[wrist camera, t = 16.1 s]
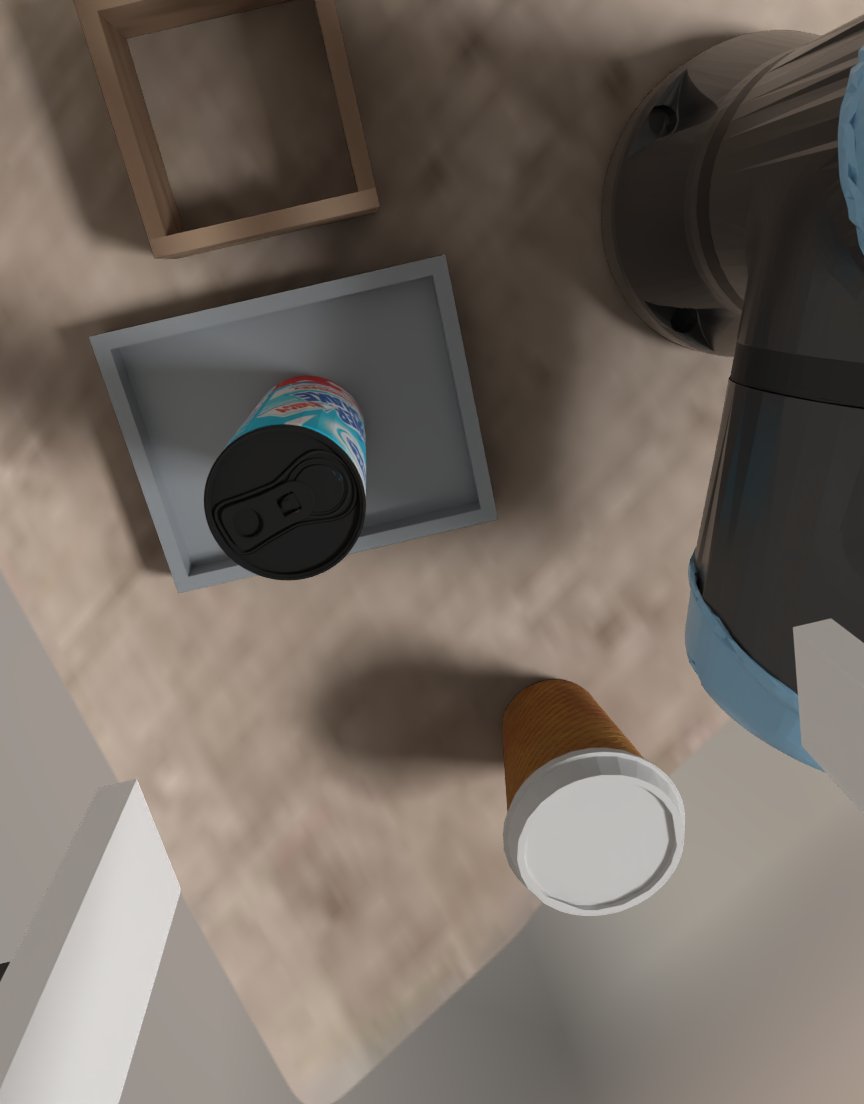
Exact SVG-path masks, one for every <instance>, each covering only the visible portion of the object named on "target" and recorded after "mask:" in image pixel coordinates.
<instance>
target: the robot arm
mask: <svg viewBox="0 0 864 1104" xmlns="http://www.w3.org/2000/svg"><path fill="white" fill-rule="evenodd" d="M601 217H602V234H603V242H604V247H605V252H606V256H607V260H608V263H609V266H610V269H611V272H612V275H613V277H614V279H615V282H616V284H617V286H618V288H619V290H620V291H621V293H622V295H623V296H624V298H625V300H626V301H627V302H628V304H629V305H630V307H631V308H632V309H633V310H634V311H635V313H636V314H637V315H638V316H639V317H640V318H641V319H642V320H643V321H644V322H645V323H646V324H647V325H648V326H650V327H651V328H652V329H653V330H655V331H656V332H658V333H659V334H660V335H662V336H664V337H665V338H667V339H669V340H671V341H673V342H675V343H677V344H679V345H682V346H684V347H687V348H690V349H694V350H697V351H701V352H705V353H709V354H714V355H719V356H726V357H734V360H733V365H732V371H731V375H730V377H729V380H728V386H727V391H726V397H725V402H724V408H723V413H722V419H721V424H720V430H719V435H718V440H717V446H716V451H715V457H714V462H713V467H712V472H711V477H710V482H709V487H708V492H707V497H706V502H705V507H704V512H703V517H702V522H701V527H700V532H699V536H698V541H697V546H696V548H695V550H694V553H693V555H692V557H691V559H690V563H689V569H688V576H689V584H690V587H691V591H690V598H689V606H688V613H687V621H686V628H685V645H686V652H687V655H688V659H689V662H690V664H691V665H692V667H693V669H694V670H695V672H696V673H697V675H698V676H699V679H700V681H701V684H702V686H703V688H704V689H705V690H706V692H707V693H708V694H709V696H710V697H711V698H712V699H713V700H714V701H715V702H716V703H717V704H718V705H719V706H720V708H721V709H722V710H724V711H725V712H726V713H727V714H728V715H729V716H730V717H731V718H732V719H734V720H735V721H736V722H737V723H738V724H740V725H741V726H742V727H744V728H745V729H746V730H748V731H749V732H750V733H752V734H753V735H755V736H756V737H758V738H759V739H761V740H762V741H764V742H766V743H767V744H769V745H770V746H772V747H774V748H776V749H777V750H779V751H781V752H783V753H784V754H786V755H788V756H790V757H792V758H794V759H796V760H798V761H800V762H802V763H804V764H807V765H809V766H811V767H813V768H816V769H818V770H821V771H823V772H825V773H827V774H828V775H829V777H830V778H831V779H832V780H833V781H834V782H835V783H836V784H837V785H838V787H839V788H840V789H841V790H842V791H843V792H844V793H845V794H846V795H847V796H848V798H849V799H850V800H851V801H852V802H853V803H854V804H855V805H856V806H857V807H858V809H859V810H860V811H861V812H862V813H863V814H864V14H863V15H861V16H859V17H857V18H855V19H853V20H852V21H850V22H848V23H846V24H844V25H842V26H840V27H838V28H836V29H834V30H832V31H830V32H828V33H826V34H824V35H822V36H820V35H816V34H811V33H806V32H801V31H792V30H770V31H761V32H756V33H750V34H745V35H742V36H738V37H735V38H732V39H729V40H726V41H724V42H721V43H719V44H717V45H715V46H713V47H711V48H709V49H707V50H705V51H704V52H702V53H700V54H698V55H697V56H695V57H694V58H692V59H690V60H689V61H687V62H686V63H684V64H683V65H681V66H679V67H678V68H677V69H675V70H674V71H673V72H671V73H670V74H669V75H667V76H666V77H665V78H664V79H663V80H662V81H661V82H660V83H658V84H657V85H656V87H655V88H654V89H653V90H652V91H651V92H650V93H649V94H648V95H647V96H646V97H645V99H644V100H643V101H642V102H641V103H640V105H639V106H638V108H637V109H636V110H635V112H634V113H633V115H632V116H631V118H630V119H629V121H628V123H627V124H626V126H625V128H624V130H623V132H622V133H621V136H620V138H619V140H618V142H617V144H616V147H615V149H614V152H613V154H612V157H611V160H610V164H609V167H608V170H607V175H606V179H605V184H604V190H603V198H602V214H601ZM180 892H181V888H180V886H179V883H178V881H177V878H176V876H175V873H174V871H173V868H172V866H171V863H170V861H169V858H168V856H167V853H166V851H165V848H164V846H163V843H162V841H161V838H160V836H159V833H158V831H157V828H156V826H155V823H154V821H153V818H152V816H151V813H150V811H149V808H148V806H147V803H146V801H145V798H144V796H143V793H142V791H141V788H140V786H139V783H138V781H137V779H135V780H131V781H126V782H122V783H118V784H114V785H109V786H105V787H100V788H98V790H97V792H96V794H95V796H94V798H93V800H92V802H91V804H90V806H89V808H88V810H87V812H86V813H85V816H84V817H83V819H82V821H81V823H80V825H79V827H78V829H77V831H76V833H75V835H74V837H73V839H72V841H71V843H70V845H69V847H68V849H67V851H66V853H65V855H64V857H63V859H62V861H61V863H60V865H59V867H58V869H57V871H56V873H55V875H54V877H53V879H52V881H51V883H50V885H49V887H48V888H47V891H46V892H45V894H44V896H43V899H42V900H41V902H40V904H39V906H38V908H37V910H36V912H35V914H34V916H33V918H32V920H31V922H30V924H29V926H28V928H27V930H26V932H25V934H24V936H23V938H22V940H21V942H20V944H19V946H18V948H17V950H16V952H15V954H14V956H13V958H12V960H11V962H7V963H2V964H0V1104H119V1100H120V1097H121V1094H122V1090H123V1087H124V1083H125V1079H126V1076H127V1073H128V1069H129V1066H130V1063H131V1059H132V1056H133V1052H134V1049H135V1046H136V1042H137V1038H138V1035H139V1032H140V1028H141V1025H142V1022H143V1018H144V1015H145V1011H146V1008H147V1005H148V1001H149V998H150V994H151V991H152V987H153V984H154V980H155V977H156V974H157V970H158V967H159V964H160V960H161V957H162V953H163V950H164V946H165V943H166V940H167V936H168V933H169V929H170V926H171V923H172V919H173V915H174V912H175V909H176V905H177V902H178V899H179V895H180Z"/></svg>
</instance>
